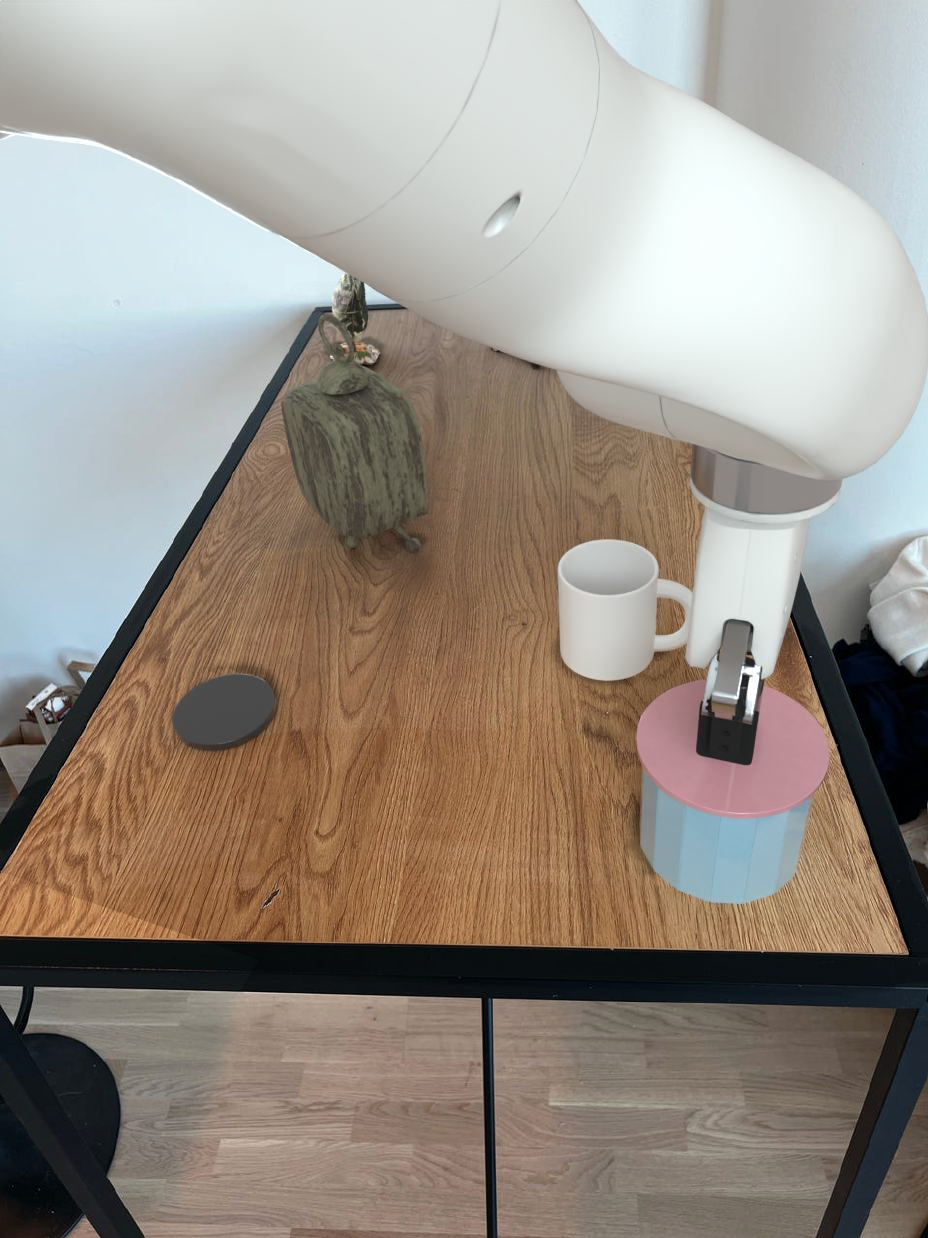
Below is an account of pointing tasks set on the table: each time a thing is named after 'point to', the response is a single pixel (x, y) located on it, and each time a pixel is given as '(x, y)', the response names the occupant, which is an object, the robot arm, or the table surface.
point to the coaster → (224, 712)
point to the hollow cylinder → (720, 847)
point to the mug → (614, 609)
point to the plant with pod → (353, 317)
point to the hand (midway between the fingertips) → (737, 701)
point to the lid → (766, 787)
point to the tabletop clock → (356, 448)
